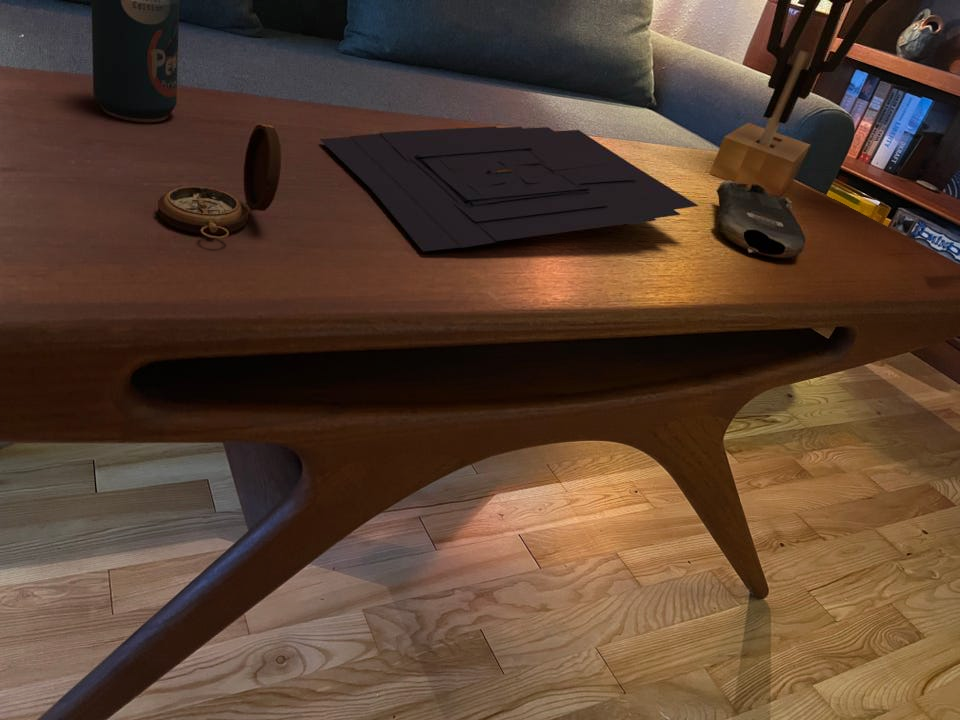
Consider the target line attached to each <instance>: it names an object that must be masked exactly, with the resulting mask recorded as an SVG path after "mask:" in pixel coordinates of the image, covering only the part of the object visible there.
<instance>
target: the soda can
mask: <svg viewBox="0 0 960 720" xmlns="http://www.w3.org/2000/svg"><path fill="white" fill-rule="evenodd" d="M90 4H91V36H92V37H91V38H92V39H91V43H92V44H91V47H92V48H91V49H92V87H93V88H92V90H93V91H92V92H93V95H94V97H95V99H96V101H97V103H98V104H99V106H100V108H101V109H102V110H103V112H104V113H106V114H107V115H109V116H112V117H114V118H117V119H121V120H124V121H129V122H136V123H137V122H138V123H156V122H162V121H164V120H167V119H168V117H169V116H170V114H171V113H172V112H173V110H174V109H175V107H176V106H177V97H178V95H177V94H178V64H179V63H178V61H179V33H180V31H179V30H180V29H179V28H180V26H179V25H180V0H91V3H90Z"/></svg>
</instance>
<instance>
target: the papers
mask: <svg viewBox="0 0 960 720" xmlns="http://www.w3.org/2000/svg"><path fill="white" fill-rule="evenodd" d="M319 141H321V143H322V144H323V145H325V146H326V148H327V149H328V150H330V151H331V152H332V154H334V155H335V156H336V157H337V158H338V159H339V160H340V161H341V162H342V163H343V164H344V165H346V166H347V168H349V169H350V171H352V172H353V173H354V174H355V175H356V176H357V177H358V178H359V179H360V180H361V181H362V182H363V183H364V184H365V185H366V186H367V187H369V189H370V190H371V191H372V192H373V193H374V195H375V196H376V197H377V198H378V200H380V201H381V203H382V204H383V205H384V207H386V209H387V210H388V212H390V214H391V215H392V216H393V217H394V219H395V220H396V221H397V222H398V223H399V225H400V226H401V227H402V228H403V229H404V231H405V232H406V233H407V234H408V236H409V237H410V238H411V239H412V240H413V241H414V243H415V244H416V245H417V246H418V247H419V248H420V250H421V251H422V252H432V251H440V250H451V249H459V248H462V249H463V248H470V247H474V246H475V247H477V246H481V245H488V244H494V243H496V244H497V243H501V242H503V241H509V240H516V239H523V238H532V237H538V236H545V235H546V236H547V235H553V234H561V233H568V232H576V231H582V230H590V229H598V228H604V227H613V226H629V225H635V224H636V225H637V224H643V223H648V222H656V221H657V219H662V218H669V217H674V216H682V214H681V213H680V212H678V211H677V210H681V209H688V208H694V207H695V208H696V207H699V204H697V203H695V202H693V201H692V200H691V199H690V198H687V197H686V196H684V195H683V194H681V193H679V192H677V191H676V190H674V189H672V188H671V187H669V186H668V185H666V184H664V183H663V182H662V181H659V180H658V179H656V178H654V177H653V176H652V175H650V174H648V173H647V172H645V171H644V170H642V169H640V168H638V167H637V166H635V165H634V164H633V163H631V162H629V161H628V160H626V159H624V158H623V157H621V156H620V155H618V154H617V153H615V152H614V151H612V150H610V149H609V148H607V147H606V146H604V145H603V144H601V143H600V142H598V141H597V140H595V139H594V138H592V137H590V136H589V135H587V134H586V133H584V132H583V131H581V130H579V129H572V130H554V129H552V128H550V127H548V126H547V127H545V126H544V127H543V126H542V127H522V126H510V127H509V126H508V127H507V126H506V127H497V126H479V127H462V128H461V127H459V128H458V127H457V128H441V129H440V128H439V129H423V130H405V131H384V132H379V133H370V134H359V135H349V136H345V137H331V138H319Z"/></svg>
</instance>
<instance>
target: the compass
mask: <svg viewBox="0 0 960 720" xmlns="http://www.w3.org/2000/svg"><path fill="white" fill-rule="evenodd" d="M246 146H247V147H246V151H245V155H244V163H243V164H244V165H243V179H242V180H243V194H244V199H245V203H244V204H243V203H242V202H240V201H239V200H237V199H236V197H234V196H233V195H231V194H230V193H227V192H225V191H223V190H220V189H216V188H212V187H206V186H182V187H178V188H175V189H173V190H171V191H169V192H168V193H166V194H163V195H162V196H161V197H160V198H159V199H158V200H157V206H156V207H155V212H156V213H157V215H158V216H159V217H160V218H161V220H163V221H164V222H165V223H167V224H168V225H170V226H171V227H173V228H176V229H179V230H181V231H186V232H189V233H193V234H200V235H202V236H205V237H207V238H210V239H217V240H218V239H219V240H220V239H224V238H225V239H226V238H227V237H228V236H229V235H230V233H233V232H236V231H238V230H239V229H241V228H242V227H244V226H245V225H246V223H247V221H248V218H249V214H251V213H253V211H260V212H265V211H266V210H267V209H268V208H269V207H270V206H271V205H272V203H273V201H274V199H275V196H276V194H277V191H278V187H279V182H280V177H281V169H282V149H281V141H280V137H279V134H278V133H277V130H276V128H275V127H274V126H273V125H272V124H265V123H257V124H256V126H255V127H254V128H253V130H252V132H251V134H250V136H249V140H248V143H247V145H246ZM216 235H217V236H216ZM218 235H221V236H218Z"/></svg>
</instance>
